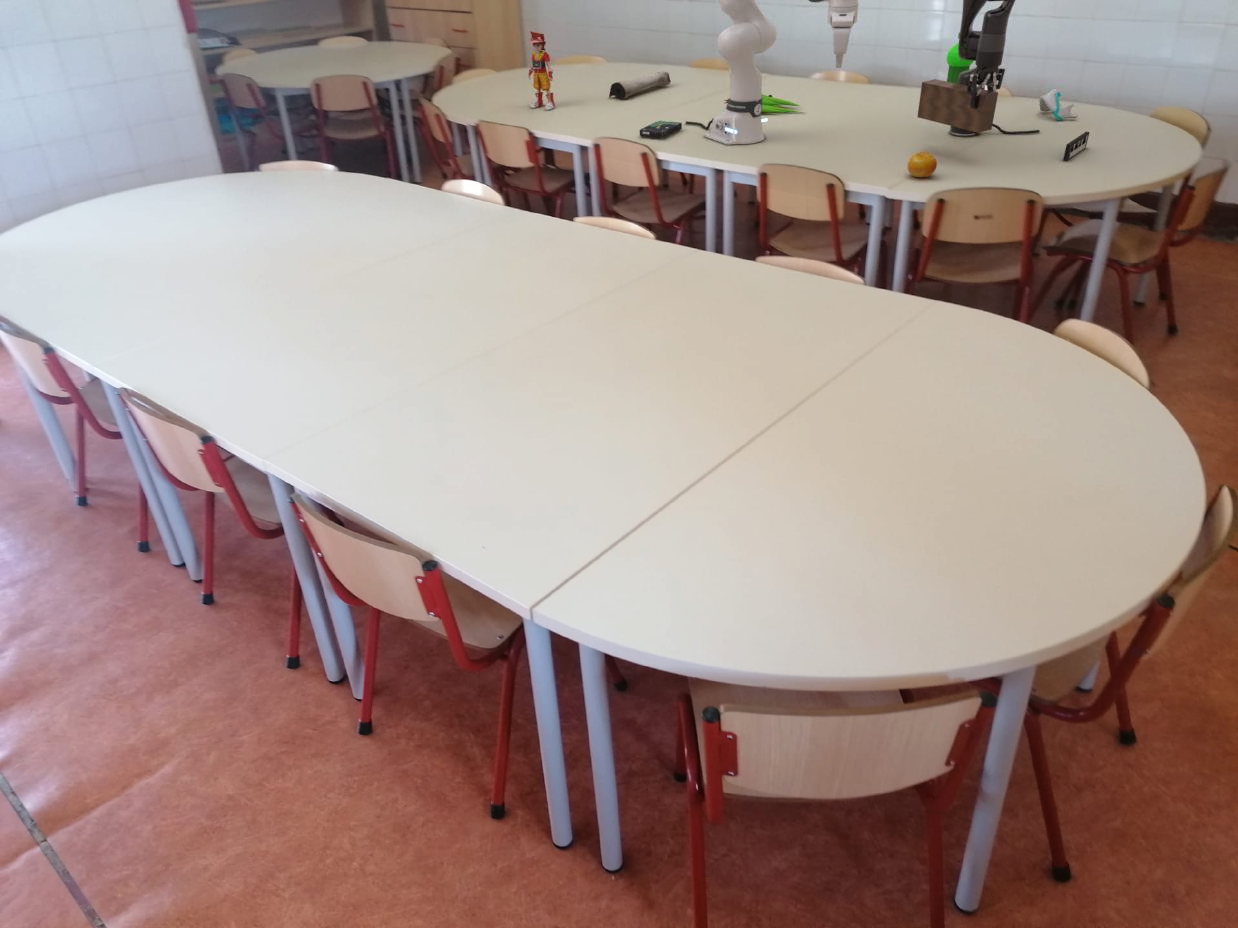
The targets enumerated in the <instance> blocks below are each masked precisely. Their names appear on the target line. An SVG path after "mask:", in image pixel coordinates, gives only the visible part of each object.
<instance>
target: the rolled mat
mask: <svg viewBox="0 0 1238 928" xmlns="http://www.w3.org/2000/svg"><path fill="white" fill-rule="evenodd" d="M671 83H672V81H671V77H670V74H669V72H668V71H658V72H654V73H649V74H645V75H640V76H637V77H633V78H628V79H623V80H620V81H616V82H613V83H612V84H611V85H610V89H609V95H608V97H609V98H611V97H616V99H620V100H622V101H623V100H626V99H627V98H629V97H630V96H632V95H635V94H636V93H638V92H640V91H643V90H644V89H647V88H650V87H655V86H658V87H659V86H661V87H665V86H669V85H670V84H671Z"/></svg>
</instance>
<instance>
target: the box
mask: <svg viewBox="0 0 1238 928" xmlns="http://www.w3.org/2000/svg"><path fill="white" fill-rule="evenodd" d="M920 89H921V90H920V95H919V102H918V110H917V116H916V117H917V119H922V120H926V121H930V122H934V123H939V124H942V125H946V126H954V127H958V128H962V129H966V130H970V131H973V132H977V133H978V134H979V133H983V132H988V131H990V130H992V129H993V126H992V125H993V124H994V118H995V113H996V108H997V102H998V96H999V92H998V91H996V92H994V91H989V90H987V89H985V90H984V89H982V90H981V93H980V95H979V102H978V107H977V109H973V108H971V107H970V103H971V97H972V96H971V95H970V94H967V86H965V85H960V84H956V83H951V82H947V80H940V79H936V78H934V79H929V80H925V81H922V82H921V88H920ZM972 89H973V88H972V87H971V90H972ZM977 91H978V88H977V89H976V92H977Z"/></svg>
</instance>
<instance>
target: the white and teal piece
mask: <svg viewBox="0 0 1238 928" xmlns="http://www.w3.org/2000/svg"><path fill="white" fill-rule="evenodd" d="M1061 96H1062V95H1061V92H1060V91H1059V92H1058V90H1057V89H1055V88H1050V89H1049V90H1048V92H1047V93H1046V94H1043V95H1041V96H1040V97H1039V100H1038V101H1039V104H1038V105H1039V110H1040V111H1041V112H1042V113H1043V112H1044V113H1048V112H1052V114H1053V115H1054V118H1055V119H1056V120H1057V121H1064V120H1066V119H1073V120H1074V119H1077V118H1078V114H1076V113H1075V114H1074V113H1072V112H1071V111H1072V108H1073V107H1075V104H1074V103H1071V104H1068V105H1067V106H1064V107H1061V106H1062V105H1061V102H1060V97H1061Z"/></svg>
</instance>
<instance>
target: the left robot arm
mask: <svg viewBox="0 0 1238 928" xmlns="http://www.w3.org/2000/svg"><path fill="white" fill-rule="evenodd" d="M718 2H719V5H720V8H721V10H722V12H723V13H725V14H726V15H727V16H729V18H730V19H731V20H732V23H733V24H732V25H730V26H728V27H727V28H725V29H724V30H722V31H721V32H720V33H719V36H718V38H717V45H716V46H717V51H718V53H719V54H720V56H721V57H722V58H723V59H724V60H725V62H726V65H727V68H728V72H729V73H728V74H729V98H728V99H725V100H723V101H724V102H723V104H724V105H725V104H726V107H725V109H724V110H722V111H721V112H720V113H719V114H717V115H716V116H715V117H713V118H711V120H709V122H708V123H707V125H704V124H703V123H702V122H698V121H697V122H696V121H687V120H686V121H685V122H684V123H685V124H686V125H692V126H700V127H701V128H702V129H704V130H709V129H710V127H711V130H709V131H707V132H706V133H705V134H704V137H705V138H707V139H710V140H713V141H716V142H718V143H721V144H724V145H730V146H731V145H732V146H733V145H749V144H756V143H760V142H762V141H764V140H765V135H764V129H763V123H764V122H768V118H762V112H761V111H762V97H761V94H762V88H763V87H762V85H763V74H762V73H761V71H760V70H759V69H757V66H756V61H755V56H756V55H758V54H762V53H764V52H766V51H767V50H768V49H770V48H771V47H773V45H774V44H775V42H776V40H777V28H776V26H775V24H774V22H772V21H771V20H770V19H768V18H767V17H766V15H764V13H763V12H762V10H761V8H760V7H759V5H758V3H757V1H756V0H718ZM808 2H810V3H816V4H819V3H824V2H827V3H828V9H827V23H828V24H829V25H830V29H831V30H832V39H833V40H832V42H833V43H832V45H833V54H834V55H835V69H841V68H842V66H843V59H844V55H846V53H847V52H848V51H847V50H848V45H849V41H850V35H851V30H852V28H853V26H854V25H855V24H856V23H858V12H859V0H808Z"/></svg>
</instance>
